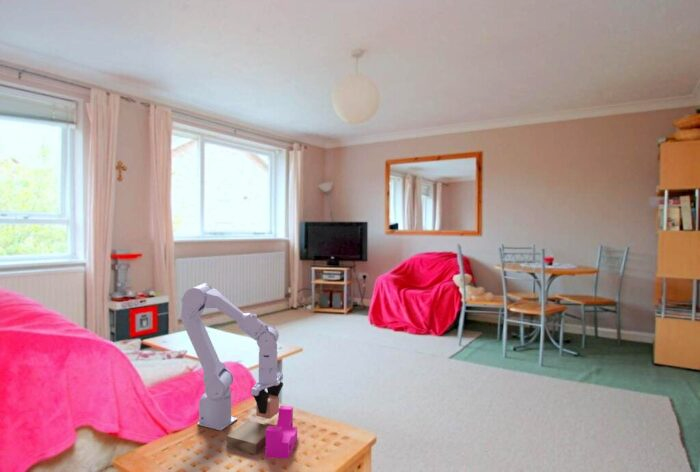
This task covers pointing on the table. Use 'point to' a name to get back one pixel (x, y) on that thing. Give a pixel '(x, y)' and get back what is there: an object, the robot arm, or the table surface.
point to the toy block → (281, 435)
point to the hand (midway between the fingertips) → (267, 409)
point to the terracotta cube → (270, 407)
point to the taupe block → (248, 437)
